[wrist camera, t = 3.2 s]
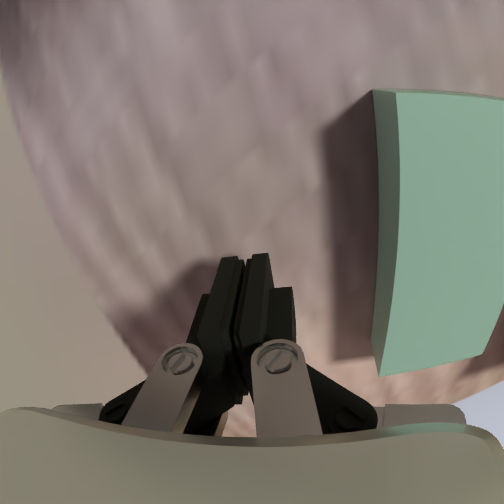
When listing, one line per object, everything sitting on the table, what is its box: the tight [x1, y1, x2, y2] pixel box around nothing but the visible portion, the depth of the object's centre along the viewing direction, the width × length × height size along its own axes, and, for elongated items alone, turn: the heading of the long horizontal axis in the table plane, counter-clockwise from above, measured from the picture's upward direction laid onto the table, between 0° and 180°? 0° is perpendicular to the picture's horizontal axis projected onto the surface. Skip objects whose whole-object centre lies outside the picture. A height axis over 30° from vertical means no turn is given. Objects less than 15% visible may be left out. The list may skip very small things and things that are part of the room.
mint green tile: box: [370, 89, 504, 377], centre depth 10 cm, size 12×6×2 cm, turn 10°
